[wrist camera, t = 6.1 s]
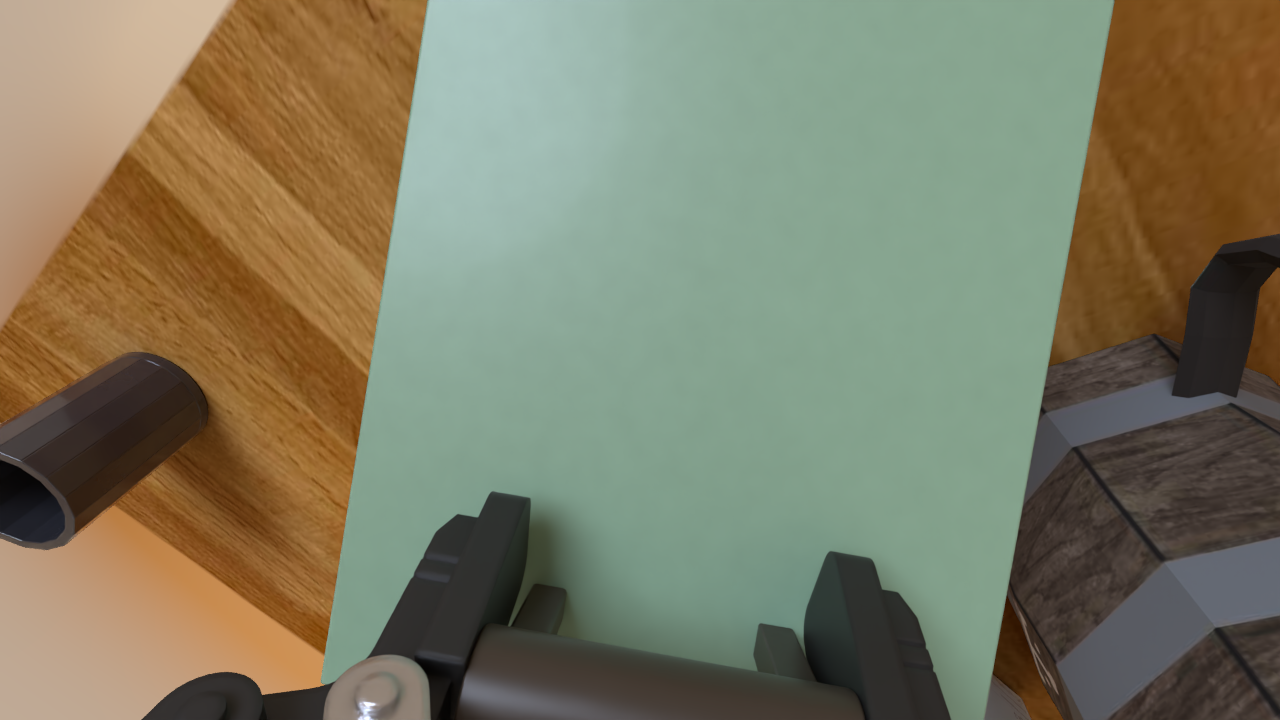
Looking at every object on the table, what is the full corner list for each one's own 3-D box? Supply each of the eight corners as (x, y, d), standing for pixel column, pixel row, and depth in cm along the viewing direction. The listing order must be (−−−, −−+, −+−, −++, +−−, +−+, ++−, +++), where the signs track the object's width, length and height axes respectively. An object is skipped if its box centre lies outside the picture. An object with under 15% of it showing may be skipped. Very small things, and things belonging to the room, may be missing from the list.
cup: (90, 390, 34) (-75, 491, 27) (134, 331, 32) (-33, 425, 25) (180, 455, 35) (45, 567, 28) (227, 403, 33) (94, 511, 26)
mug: (1222, 584, 32) (1577, 994, 19) (929, 574, 33) (1063, 944, 20) (1424, 169, 22) (2412, 403, 9) (1003, 185, 24) (1337, 402, 11)
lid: (951, 778, 14) (1130, 1046, 8) (339, 664, 14) (147, 852, 9) (1103, -65, 13) (1390, -335, 8) (468, -156, 14) (347, -468, 8)
